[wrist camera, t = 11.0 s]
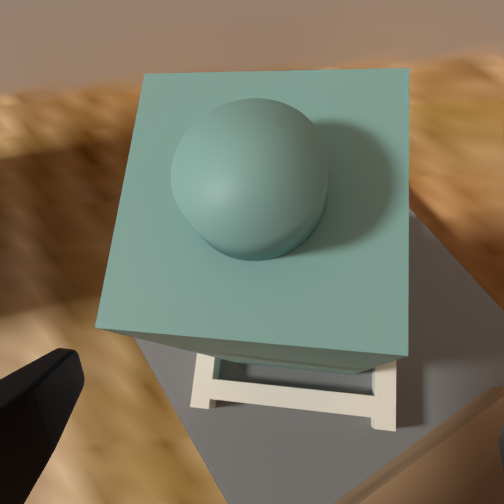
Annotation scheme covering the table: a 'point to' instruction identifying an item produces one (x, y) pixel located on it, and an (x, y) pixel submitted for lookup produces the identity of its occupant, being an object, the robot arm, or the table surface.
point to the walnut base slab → (445, 462)
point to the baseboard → (339, 393)
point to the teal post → (267, 218)
